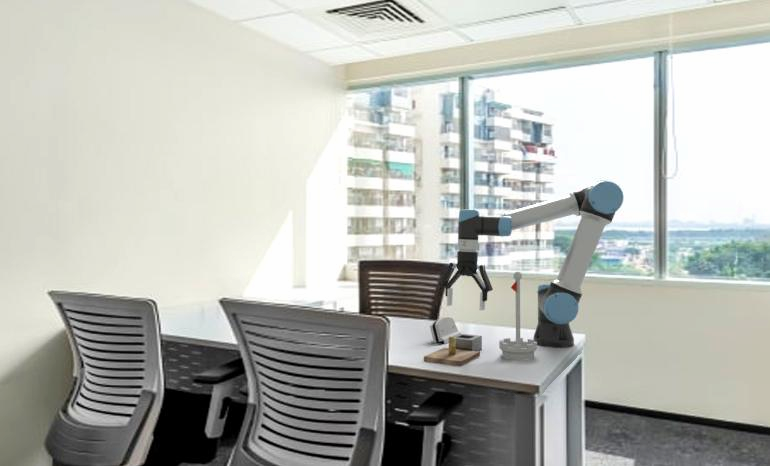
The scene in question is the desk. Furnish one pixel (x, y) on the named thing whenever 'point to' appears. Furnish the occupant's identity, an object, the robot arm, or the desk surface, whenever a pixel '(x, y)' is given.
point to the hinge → (443, 329)
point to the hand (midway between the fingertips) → (465, 307)
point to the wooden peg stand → (452, 355)
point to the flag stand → (517, 334)
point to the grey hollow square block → (468, 342)
